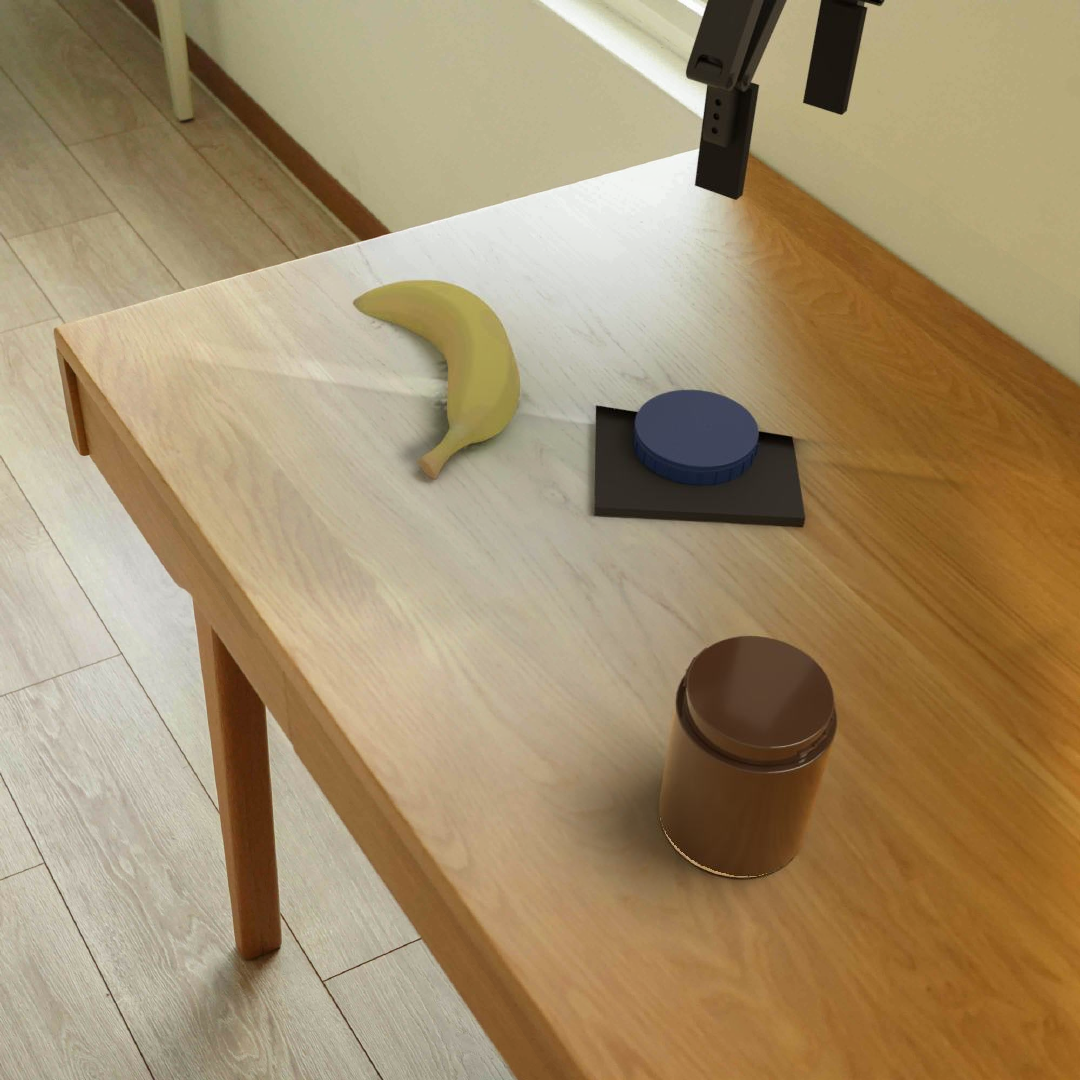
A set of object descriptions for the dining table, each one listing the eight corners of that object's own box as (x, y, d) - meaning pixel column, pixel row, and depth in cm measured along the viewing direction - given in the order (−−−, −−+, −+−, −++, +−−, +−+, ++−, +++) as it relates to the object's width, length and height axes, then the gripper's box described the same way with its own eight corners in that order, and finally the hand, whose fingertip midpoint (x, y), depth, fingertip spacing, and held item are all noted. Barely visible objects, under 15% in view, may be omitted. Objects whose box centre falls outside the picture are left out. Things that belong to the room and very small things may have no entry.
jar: (811, 771, 75) (847, 645, 68) (801, 893, 69) (838, 769, 62) (669, 744, 76) (689, 617, 69) (647, 862, 70) (667, 736, 63)
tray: (784, 399, 100) (785, 391, 100) (803, 526, 90) (805, 518, 89) (596, 390, 100) (596, 381, 100) (594, 515, 90) (595, 507, 90)
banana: (515, 244, 101) (498, 435, 88) (533, 300, 105) (518, 491, 92) (344, 272, 104) (302, 462, 91) (367, 326, 108) (331, 515, 95)
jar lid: (614, 465, 93) (616, 446, 92) (655, 395, 99) (657, 377, 98) (736, 499, 91) (739, 480, 89) (770, 426, 97) (773, 407, 95)
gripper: (876, -308, 75) (811, 61, 90) (642, -218, 60) (609, 209, 75) (1005, -285, 72) (916, 92, 87) (792, -185, 57) (727, 253, 72)
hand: (774, 147), depth 81 cm, fingers open, 13 cm apart
